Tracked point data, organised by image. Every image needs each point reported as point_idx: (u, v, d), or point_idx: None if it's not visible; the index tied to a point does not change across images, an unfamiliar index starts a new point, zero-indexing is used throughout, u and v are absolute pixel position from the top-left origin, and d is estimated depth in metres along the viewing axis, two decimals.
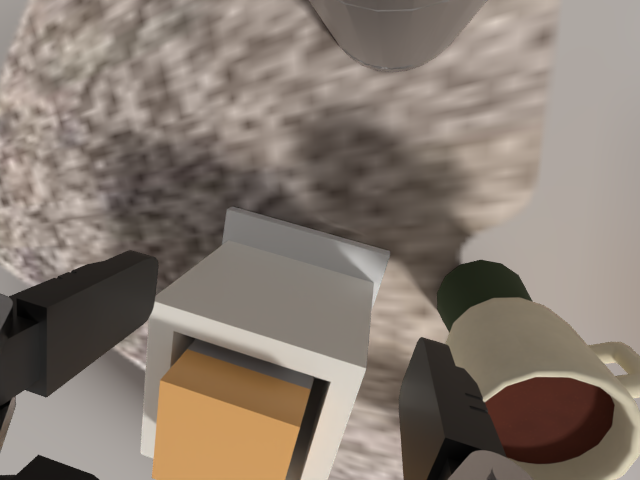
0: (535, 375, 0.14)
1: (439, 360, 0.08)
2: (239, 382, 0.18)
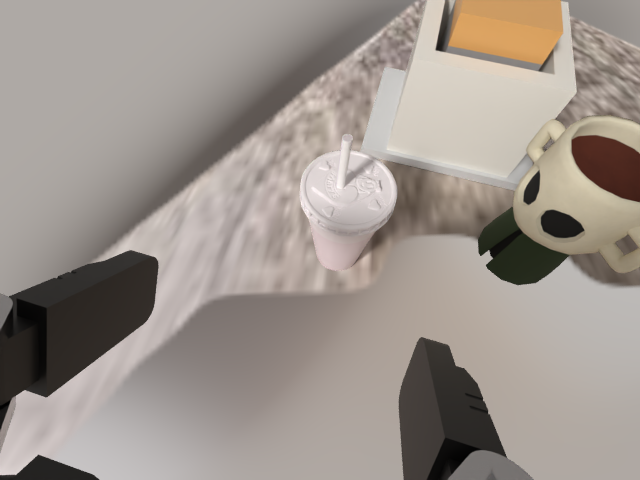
0: None
1: (439, 360, 0.08)
2: None
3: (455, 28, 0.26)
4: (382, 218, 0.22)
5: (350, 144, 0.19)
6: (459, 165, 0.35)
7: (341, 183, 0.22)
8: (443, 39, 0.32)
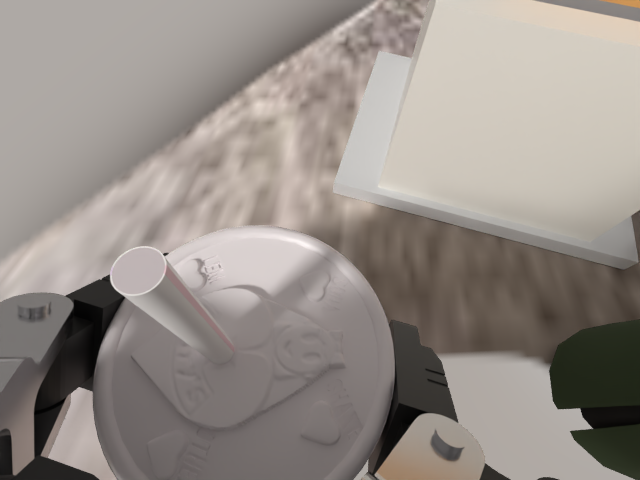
0: None
1: (405, 339, 0.09)
2: None
3: None
4: None
5: (162, 297, 0.04)
6: (505, 218, 0.20)
7: (212, 359, 0.07)
8: None
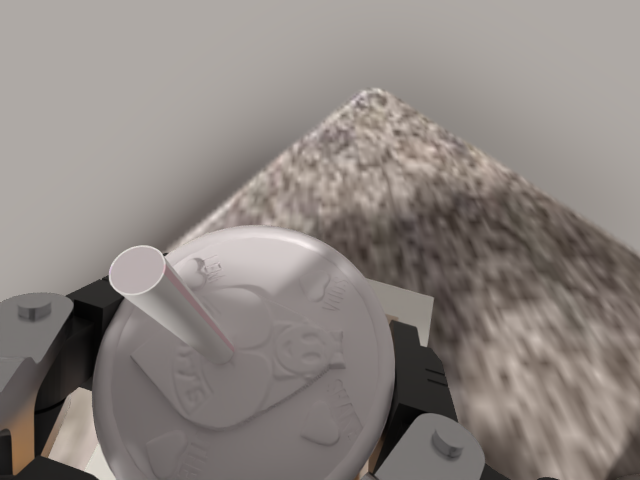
0: None
1: (405, 339, 0.09)
2: None
3: None
4: None
5: (161, 297, 0.04)
6: None
7: (212, 359, 0.07)
8: None
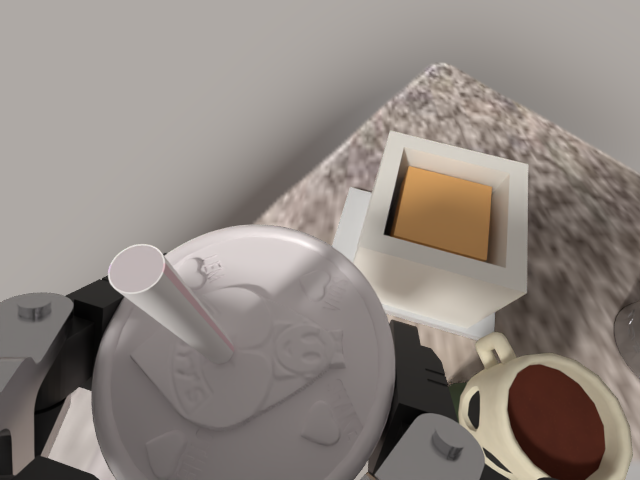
0: (613, 399, 0.20)
1: (405, 339, 0.09)
2: None
3: None
4: None
5: (160, 295, 0.04)
6: (418, 313, 0.33)
7: (211, 359, 0.07)
8: (391, 216, 0.34)
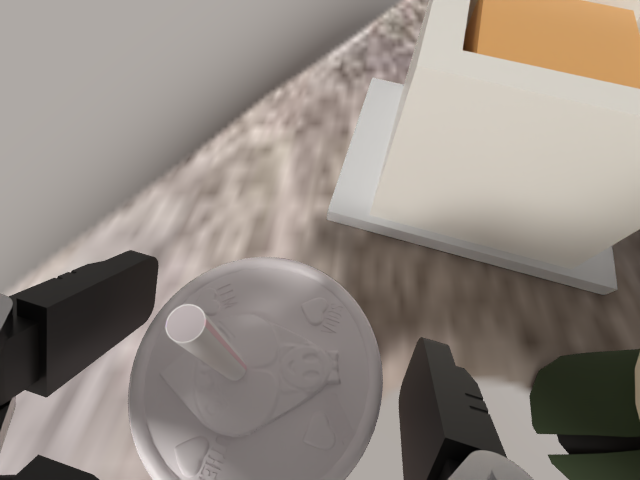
0: None
1: (439, 360, 0.08)
2: None
3: None
4: None
5: (201, 341, 0.05)
6: (491, 246, 0.21)
7: (229, 377, 0.08)
8: None
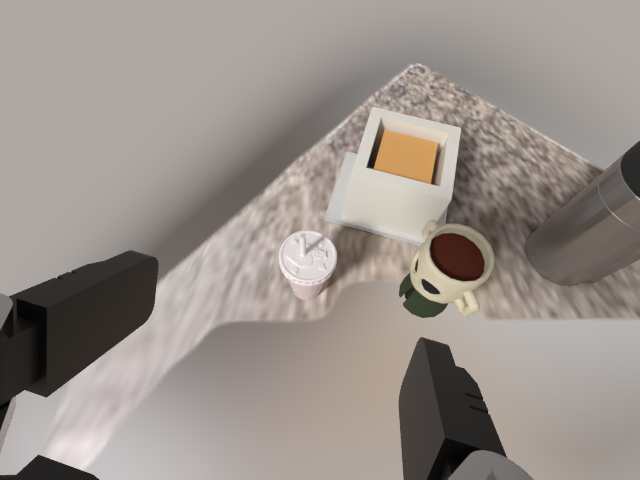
0: (488, 244, 0.36)
1: (439, 360, 0.08)
2: None
3: None
4: (326, 275, 0.37)
5: (305, 238, 0.34)
6: (392, 231, 0.50)
7: (302, 254, 0.37)
8: None
